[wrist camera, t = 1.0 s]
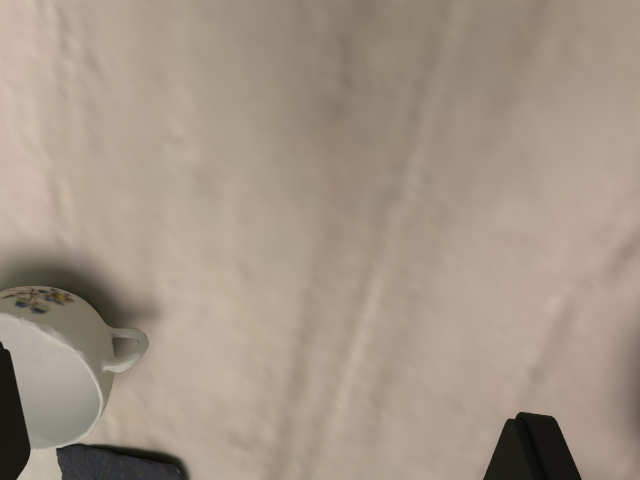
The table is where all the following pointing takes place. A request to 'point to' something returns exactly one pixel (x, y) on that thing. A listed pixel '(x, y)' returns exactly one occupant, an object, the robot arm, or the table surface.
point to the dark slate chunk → (110, 466)
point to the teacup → (61, 361)
